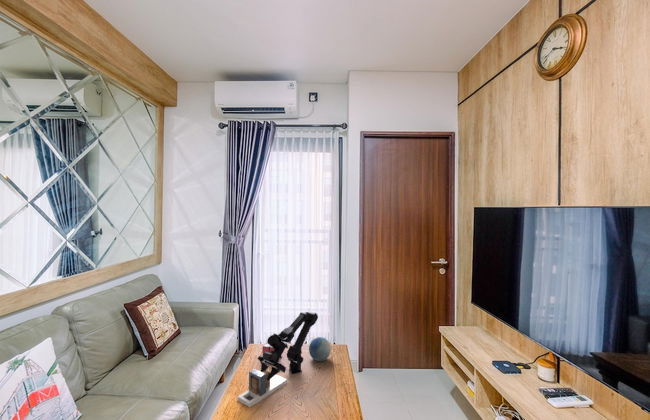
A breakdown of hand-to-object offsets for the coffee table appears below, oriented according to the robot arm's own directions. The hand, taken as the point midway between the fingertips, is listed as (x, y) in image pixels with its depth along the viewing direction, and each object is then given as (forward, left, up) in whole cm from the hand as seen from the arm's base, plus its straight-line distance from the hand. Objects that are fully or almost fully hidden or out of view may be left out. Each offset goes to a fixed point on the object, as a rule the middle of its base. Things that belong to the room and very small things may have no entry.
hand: (263, 378), depth 178 cm
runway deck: (0, 0, -7) cm, 7 cm away
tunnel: (+4, +2, -5) cm, 7 cm away
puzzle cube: (-16, -33, -7) cm, 38 cm away
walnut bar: (+2, +1, -5) cm, 6 cm away
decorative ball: (-44, -16, -7) cm, 48 cm away
